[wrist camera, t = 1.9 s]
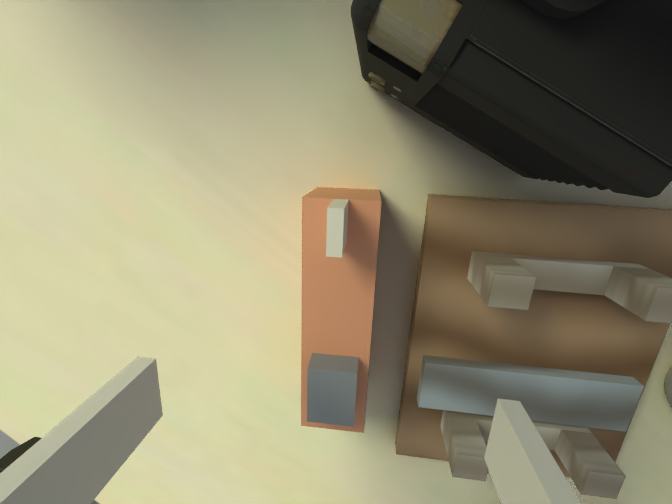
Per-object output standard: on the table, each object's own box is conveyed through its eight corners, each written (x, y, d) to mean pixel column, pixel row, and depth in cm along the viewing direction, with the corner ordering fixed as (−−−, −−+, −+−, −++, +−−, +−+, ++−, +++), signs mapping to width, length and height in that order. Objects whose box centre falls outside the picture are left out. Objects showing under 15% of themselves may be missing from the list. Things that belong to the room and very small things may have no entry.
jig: (428, 194, 23) (445, 207, 18) (694, 211, 21) (800, 231, 16) (395, 442, 29) (400, 506, 24) (597, 468, 28) (650, 542, 23)
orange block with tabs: (318, 186, 24) (289, 205, 16) (379, 189, 23) (383, 210, 15) (314, 374, 29) (291, 463, 20) (365, 379, 28) (362, 472, 20)
